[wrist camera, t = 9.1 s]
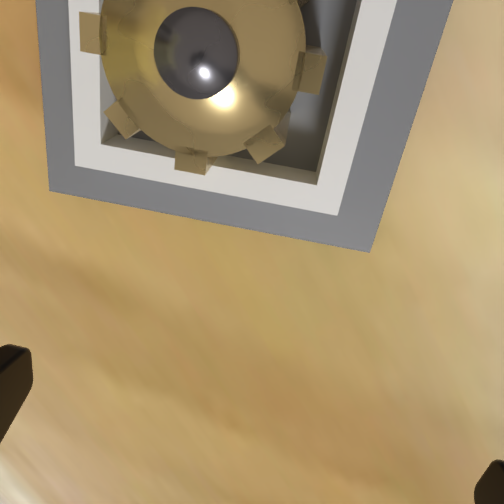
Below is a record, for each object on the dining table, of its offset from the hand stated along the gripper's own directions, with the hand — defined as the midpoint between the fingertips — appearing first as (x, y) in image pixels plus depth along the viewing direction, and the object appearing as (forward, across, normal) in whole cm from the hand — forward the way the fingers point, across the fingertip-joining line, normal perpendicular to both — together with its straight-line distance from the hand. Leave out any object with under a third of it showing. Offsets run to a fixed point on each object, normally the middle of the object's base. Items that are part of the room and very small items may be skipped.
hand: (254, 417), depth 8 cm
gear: (+11, +3, -6) cm, 12 cm away
